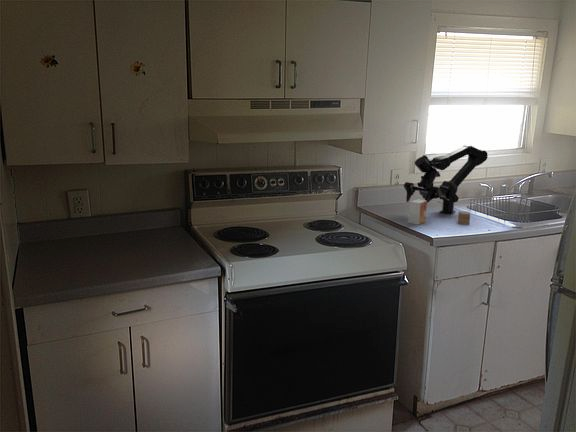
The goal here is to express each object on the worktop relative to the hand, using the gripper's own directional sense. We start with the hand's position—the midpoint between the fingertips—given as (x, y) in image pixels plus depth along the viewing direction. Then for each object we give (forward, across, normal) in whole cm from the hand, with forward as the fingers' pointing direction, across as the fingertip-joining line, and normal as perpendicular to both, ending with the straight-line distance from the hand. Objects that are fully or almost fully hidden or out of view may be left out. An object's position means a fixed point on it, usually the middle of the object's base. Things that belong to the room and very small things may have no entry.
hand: (415, 203), depth 263 cm
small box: (+10, -5, -2) cm, 11 cm away
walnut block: (-2, -20, -13) cm, 24 cm away
